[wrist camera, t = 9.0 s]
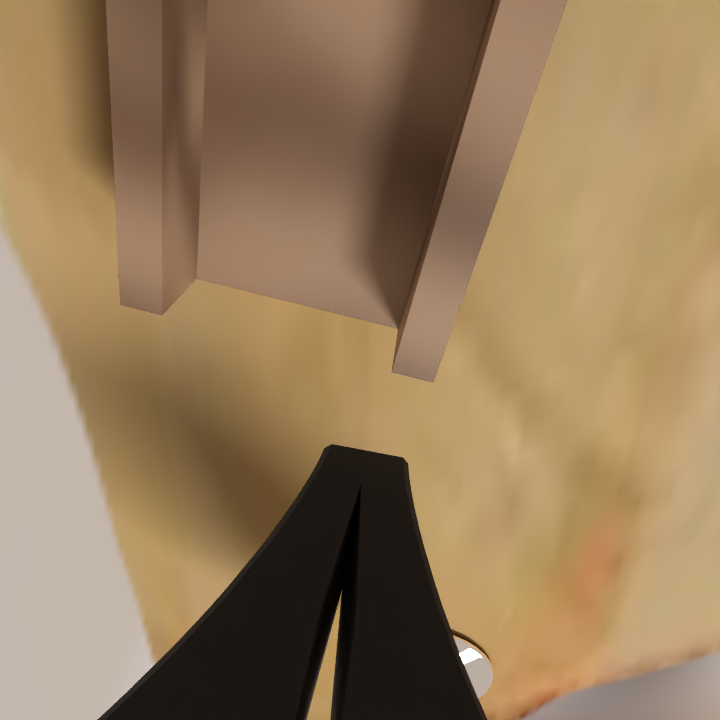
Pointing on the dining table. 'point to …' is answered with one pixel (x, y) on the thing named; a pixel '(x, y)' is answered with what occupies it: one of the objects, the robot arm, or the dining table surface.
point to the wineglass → (476, 666)
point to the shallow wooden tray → (319, 150)
